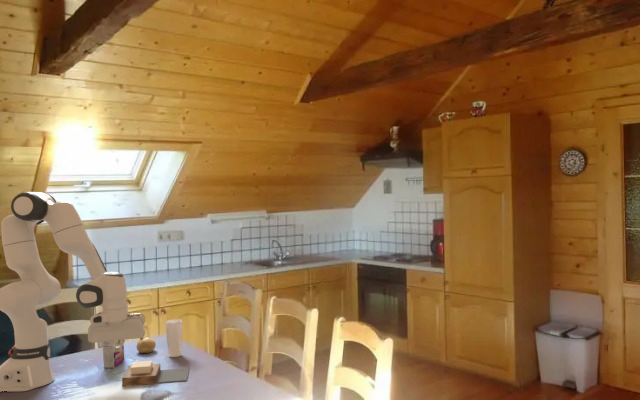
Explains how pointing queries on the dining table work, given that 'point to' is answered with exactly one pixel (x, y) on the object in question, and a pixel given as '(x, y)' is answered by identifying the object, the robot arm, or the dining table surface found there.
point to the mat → (173, 375)
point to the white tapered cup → (174, 337)
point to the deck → (141, 376)
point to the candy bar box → (112, 354)
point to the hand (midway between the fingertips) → (118, 351)
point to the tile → (141, 367)
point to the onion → (146, 345)
